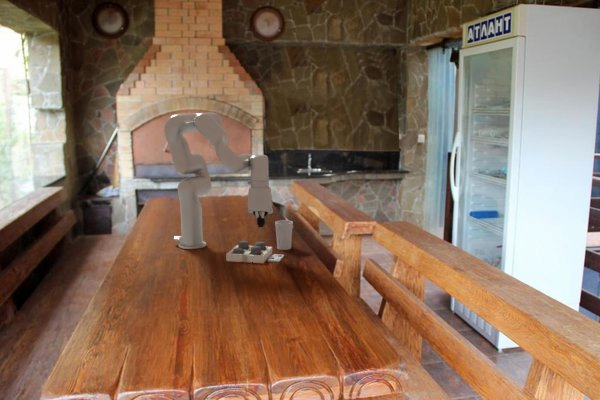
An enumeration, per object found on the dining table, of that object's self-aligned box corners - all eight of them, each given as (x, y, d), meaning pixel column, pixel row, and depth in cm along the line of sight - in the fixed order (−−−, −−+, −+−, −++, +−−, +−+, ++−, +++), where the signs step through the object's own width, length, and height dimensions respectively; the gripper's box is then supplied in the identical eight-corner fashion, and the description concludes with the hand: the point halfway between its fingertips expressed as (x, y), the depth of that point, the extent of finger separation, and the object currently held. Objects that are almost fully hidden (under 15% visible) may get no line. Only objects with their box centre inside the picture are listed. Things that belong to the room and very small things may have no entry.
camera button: (232, 258, 239) (231, 250, 239) (235, 255, 244) (235, 248, 243) (242, 259, 238) (241, 251, 238) (245, 256, 243) (245, 248, 242)
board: (226, 261, 238) (226, 254, 238) (237, 251, 253) (237, 244, 252) (263, 263, 235) (263, 256, 234) (272, 253, 249) (272, 246, 249)
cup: (290, 250, 254) (290, 224, 252) (273, 249, 255) (273, 223, 253) (294, 246, 262) (294, 220, 259) (277, 245, 263) (277, 219, 261)
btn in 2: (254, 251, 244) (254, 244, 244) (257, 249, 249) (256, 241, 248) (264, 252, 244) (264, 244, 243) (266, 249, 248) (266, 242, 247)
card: (267, 261, 238) (267, 259, 238) (272, 255, 246) (272, 253, 246) (279, 261, 237) (279, 260, 237) (284, 256, 245) (284, 254, 245)
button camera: (249, 256, 238) (249, 248, 237) (252, 253, 242) (252, 245, 241) (259, 257, 237) (259, 248, 236) (262, 254, 241) (262, 246, 240)
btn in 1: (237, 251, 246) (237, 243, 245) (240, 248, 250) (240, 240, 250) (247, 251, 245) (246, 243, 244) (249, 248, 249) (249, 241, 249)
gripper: (240, 185, 239) (241, 228, 242) (274, 185, 236) (275, 229, 239) (245, 182, 246) (246, 224, 249) (279, 183, 243) (280, 225, 246)
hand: (261, 226), depth 244 cm, fingers closed
